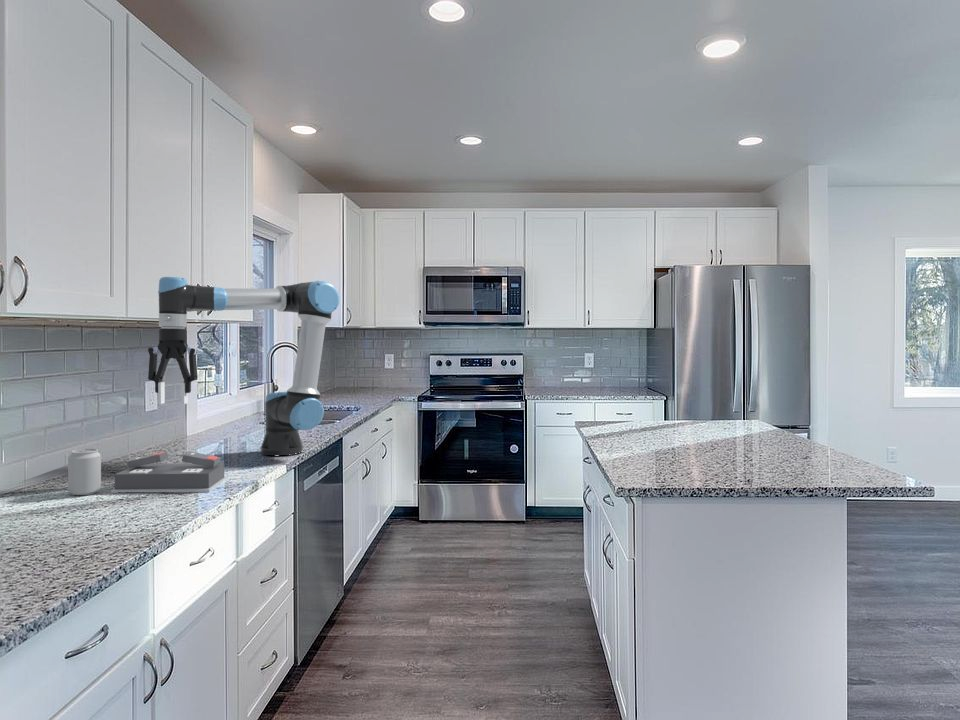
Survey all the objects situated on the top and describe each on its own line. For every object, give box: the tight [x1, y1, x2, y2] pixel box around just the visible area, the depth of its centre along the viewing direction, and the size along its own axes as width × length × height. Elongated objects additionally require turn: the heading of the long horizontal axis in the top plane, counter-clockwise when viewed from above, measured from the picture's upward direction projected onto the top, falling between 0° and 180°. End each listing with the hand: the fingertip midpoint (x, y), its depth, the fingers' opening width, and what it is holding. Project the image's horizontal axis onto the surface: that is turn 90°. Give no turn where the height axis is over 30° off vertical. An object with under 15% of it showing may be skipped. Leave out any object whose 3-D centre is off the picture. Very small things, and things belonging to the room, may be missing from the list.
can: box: [67, 448, 102, 496], centre depth 158 cm, size 8×8×12 cm
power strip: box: [110, 463, 228, 494], centre depth 167 cm, size 15×26×5 cm, turn 96°
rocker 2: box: [181, 451, 221, 468], centre depth 170 cm, size 5×9×2 cm, turn 96°
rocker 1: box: [126, 451, 169, 468], centre depth 168 cm, size 5×9×2 cm, turn 96°
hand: (173, 403), depth 176 cm, fingers open, 6 cm apart
